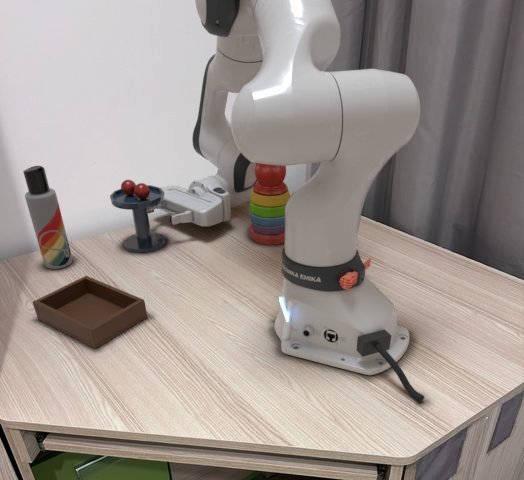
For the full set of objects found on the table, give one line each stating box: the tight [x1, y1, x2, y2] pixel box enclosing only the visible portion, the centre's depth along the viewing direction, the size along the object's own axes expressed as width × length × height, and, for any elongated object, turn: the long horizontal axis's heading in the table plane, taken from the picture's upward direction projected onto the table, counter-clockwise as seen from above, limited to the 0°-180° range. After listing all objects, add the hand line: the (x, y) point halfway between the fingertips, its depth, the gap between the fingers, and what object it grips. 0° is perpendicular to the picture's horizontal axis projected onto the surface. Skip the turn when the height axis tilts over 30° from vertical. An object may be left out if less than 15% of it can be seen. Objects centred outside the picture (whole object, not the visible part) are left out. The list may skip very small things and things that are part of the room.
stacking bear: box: [248, 163, 291, 245], centre depth 117 cm, size 11×10×18 cm
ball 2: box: [134, 182, 150, 199], centre depth 112 cm, size 3×3×3 cm
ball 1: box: [120, 179, 137, 195], centre depth 114 cm, size 3×3×3 cm
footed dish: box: [109, 184, 166, 253], centre depth 116 cm, size 11×11×11 cm
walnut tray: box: [32, 275, 148, 349], centre depth 94 cm, size 16×12×4 cm
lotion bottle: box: [22, 165, 73, 270], centre depth 107 cm, size 6×6×20 cm
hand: (157, 214), depth 119 cm, fingers open, 8 cm apart
